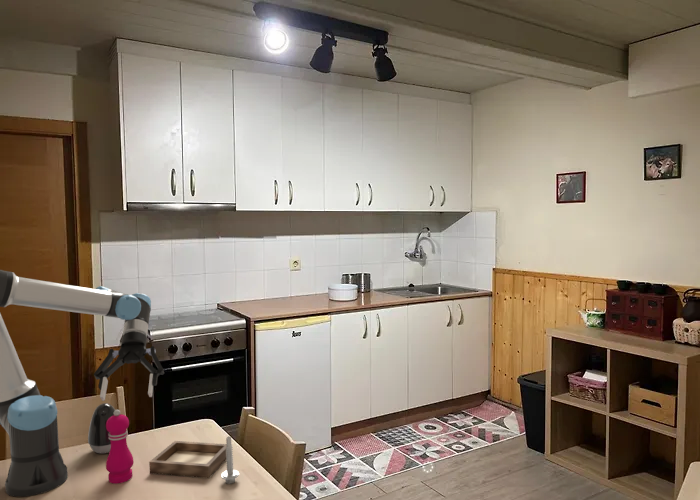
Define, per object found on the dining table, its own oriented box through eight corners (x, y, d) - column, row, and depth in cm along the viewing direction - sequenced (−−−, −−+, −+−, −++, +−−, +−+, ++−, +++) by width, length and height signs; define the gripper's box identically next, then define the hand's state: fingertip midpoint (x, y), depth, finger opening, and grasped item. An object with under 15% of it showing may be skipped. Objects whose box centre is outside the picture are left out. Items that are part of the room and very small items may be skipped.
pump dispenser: (87, 460, 164) (84, 411, 163) (89, 446, 174) (87, 401, 173) (123, 453, 168) (121, 406, 167) (123, 441, 178) (121, 396, 177)
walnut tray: (149, 473, 155) (149, 461, 154) (175, 451, 169) (174, 440, 168) (209, 478, 151) (208, 466, 151) (230, 455, 165) (229, 444, 165)
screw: (239, 476, 152) (238, 485, 147) (222, 478, 151) (220, 486, 146) (238, 431, 151) (236, 439, 146) (220, 433, 150) (218, 440, 145)
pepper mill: (124, 485, 148) (120, 415, 147) (101, 483, 149) (96, 413, 148) (139, 473, 155) (135, 405, 154) (117, 471, 156) (113, 404, 155)
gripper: (176, 340, 180) (171, 399, 166) (97, 345, 176) (85, 405, 162) (172, 327, 174) (167, 387, 160) (91, 332, 170) (78, 394, 156)
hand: (126, 397), depth 161 cm, fingers open, 13 cm apart
